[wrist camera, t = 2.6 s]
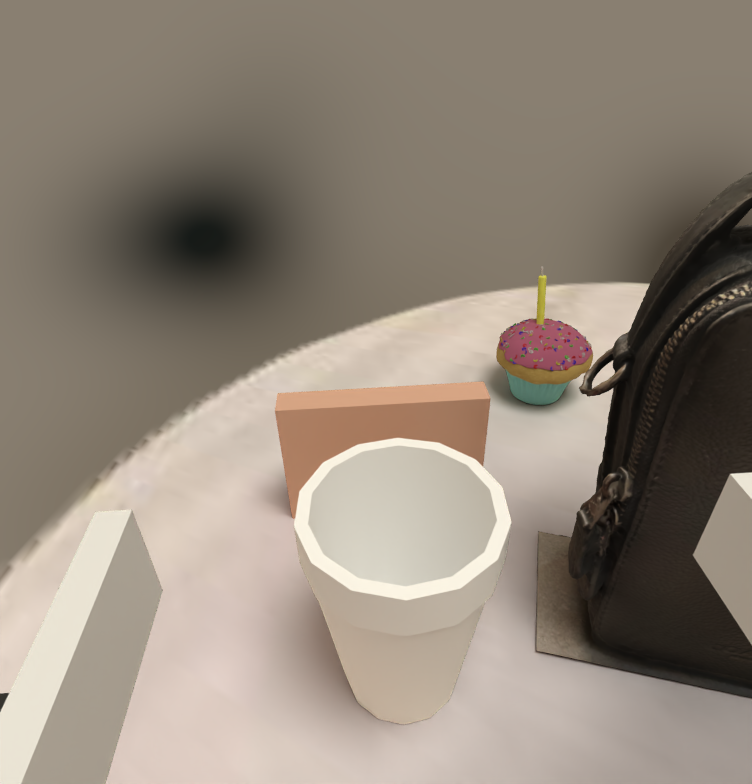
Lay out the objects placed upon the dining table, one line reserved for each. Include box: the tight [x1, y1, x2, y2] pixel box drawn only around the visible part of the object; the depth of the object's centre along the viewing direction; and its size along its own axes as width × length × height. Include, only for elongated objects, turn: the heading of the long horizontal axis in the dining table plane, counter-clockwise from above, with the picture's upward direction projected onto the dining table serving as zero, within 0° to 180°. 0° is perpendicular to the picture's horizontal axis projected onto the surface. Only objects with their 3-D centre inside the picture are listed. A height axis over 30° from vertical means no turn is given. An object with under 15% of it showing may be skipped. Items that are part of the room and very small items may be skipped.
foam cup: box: [294, 438, 512, 725], centre depth 28 cm, size 10×9×13 cm
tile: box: [275, 382, 490, 518], centre depth 40 cm, size 2×14×10 cm, turn 93°
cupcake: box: [497, 266, 593, 405], centre depth 51 cm, size 9×8×12 cm
